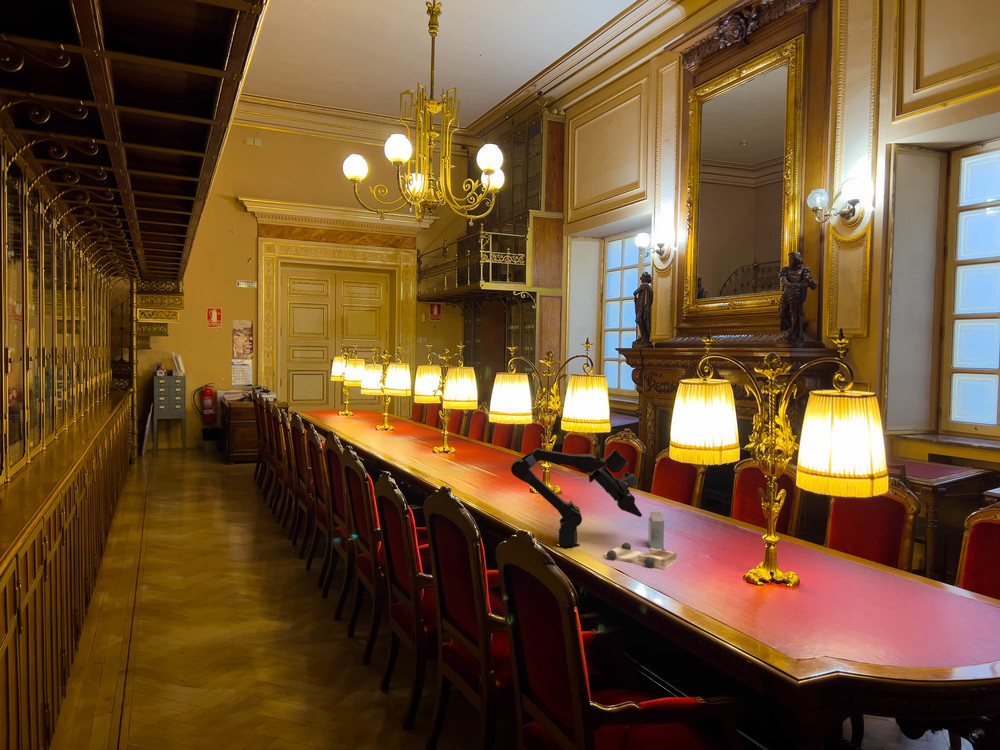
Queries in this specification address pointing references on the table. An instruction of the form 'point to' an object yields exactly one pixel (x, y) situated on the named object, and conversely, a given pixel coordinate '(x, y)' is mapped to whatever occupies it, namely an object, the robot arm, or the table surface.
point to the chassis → (642, 556)
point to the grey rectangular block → (656, 531)
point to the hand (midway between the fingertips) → (639, 513)
